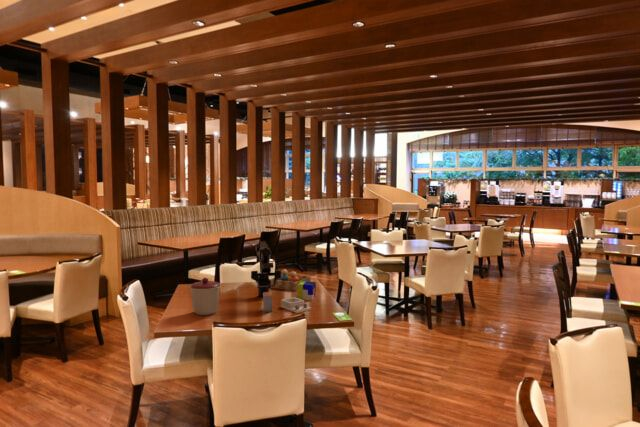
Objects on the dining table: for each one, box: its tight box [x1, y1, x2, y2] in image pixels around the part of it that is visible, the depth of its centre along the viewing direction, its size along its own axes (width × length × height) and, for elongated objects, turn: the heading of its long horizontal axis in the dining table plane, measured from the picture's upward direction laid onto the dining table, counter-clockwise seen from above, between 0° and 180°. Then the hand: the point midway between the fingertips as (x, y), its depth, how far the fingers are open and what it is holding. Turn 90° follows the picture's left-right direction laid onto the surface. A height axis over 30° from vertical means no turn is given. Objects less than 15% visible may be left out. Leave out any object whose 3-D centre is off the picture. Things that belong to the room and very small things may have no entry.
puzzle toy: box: [297, 281, 317, 301], centre depth 299 cm, size 10×10×10 cm
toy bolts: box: [280, 268, 299, 282], centre depth 333 cm, size 18×17×12 cm
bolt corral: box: [269, 273, 312, 292], centre depth 333 cm, size 23×24×6 cm
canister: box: [188, 277, 222, 316], centre depth 261 cm, size 18×18×21 cm
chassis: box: [280, 296, 312, 314], centre depth 273 cm, size 17×11×4 cm, turn 39°
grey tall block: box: [262, 291, 273, 313], centre depth 267 cm, size 5×5×11 cm
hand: (266, 286), depth 273 cm, fingers open, 9 cm apart
